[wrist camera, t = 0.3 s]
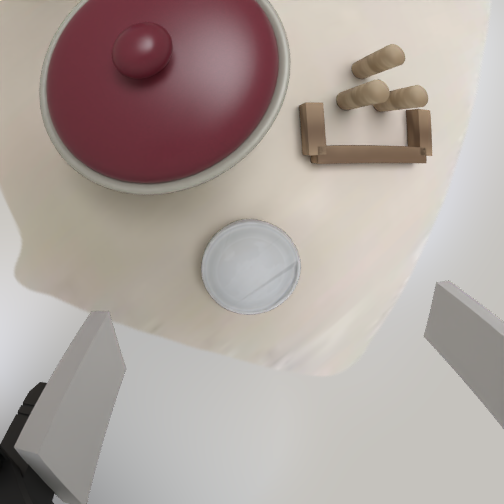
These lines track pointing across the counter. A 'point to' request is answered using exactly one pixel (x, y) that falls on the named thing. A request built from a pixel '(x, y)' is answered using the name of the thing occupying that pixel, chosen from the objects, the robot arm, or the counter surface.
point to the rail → (325, 154)
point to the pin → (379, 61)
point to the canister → (163, 89)
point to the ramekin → (250, 267)
